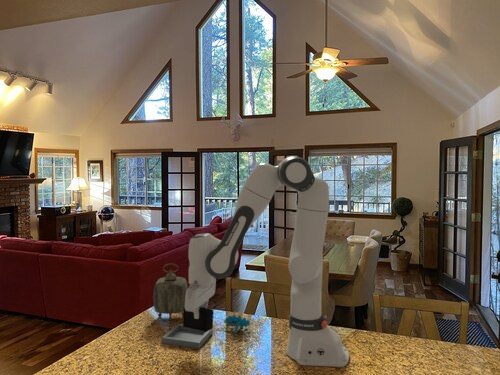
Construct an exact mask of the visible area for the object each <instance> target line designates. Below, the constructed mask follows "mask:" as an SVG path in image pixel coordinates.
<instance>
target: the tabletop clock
mask: <svg viewBox="0 0 500 375" xmlns="http://www.w3.org/2000/svg"><path fill="white" fill-rule="evenodd" d="M167 266H175V267H176V268H177V269H175V270H173V269H169V270H165V269H164V268H165V267H167ZM178 270H179V266H178V264H176V263H173V262H172V263H170V262H169V263H166V264H164V265H163V266H162V271H164V272H165V273H167V274H166V275H165V276H164V277H160V278H158V279H157V281H156V282H155V285H154V288H153V293H152V294H153V295H152V300H153V309H154V310H155V313H158V315H157V316H158V317H160V318H161V317H162V315H163V314H168V315H169V317H168V321H169V322H171V321H173V317H172V314H180V313H181V316H182V317H183V310H184V308H185V294H186V290H187V289H188V288H189V286H188V281H187V279H186V278H185V277H181V276H176V274H175V273H176V272H178Z"/></svg>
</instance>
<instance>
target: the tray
mask: <svg viewBox="0 0 500 375" xmlns="http://www.w3.org/2000/svg"><path fill="white" fill-rule="evenodd" d="M213 329H214V328H212V329H211V330H209V331H207V332H205V331H201V330H196V329H192V328H187V327H183V323H177V324H176V325H175V326H174V327H172V328H171V329H170V330H169V331H168V332H166V334H164V335H163V336H162V337H161V344H162V345H166V346H173V347H180V348H187V349H192V350H193V349H194V350H200V349H201V348H202V347H203V346H204V345H205V343H206V342H208V340H209V339H210V338H211V336H213V332H214V331H213Z"/></svg>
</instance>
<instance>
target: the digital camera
mask: <svg viewBox="0 0 500 375" xmlns="http://www.w3.org/2000/svg"><path fill="white" fill-rule="evenodd" d="M182 317H183V318H182V324H183V327H187V328H192V329H196V330H201V331H205V332H207V331H209V330H211V329H212V328H213V326H214V309H213V308H208V307H207V308H203V307H202V306H200V307H199V319H195V318H194V313H193V312H190V311H186V310H185V308H184V310H183V316H182ZM213 329H214V328H213Z"/></svg>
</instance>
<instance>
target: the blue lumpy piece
mask: <svg viewBox="0 0 500 375" xmlns="http://www.w3.org/2000/svg"><path fill="white" fill-rule="evenodd" d="M223 323H224V324H225V326H226V327H225V332H228V329H229V327H235V328H234V334H238V329H239V327H240V328H244V327H245V328H248V326H250V324H251V323H250V320H248V319H247V318H246V317H242V316H240V315H237V316H236V315H235V314H233V315H228V316H226V319H224V322H223Z"/></svg>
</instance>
